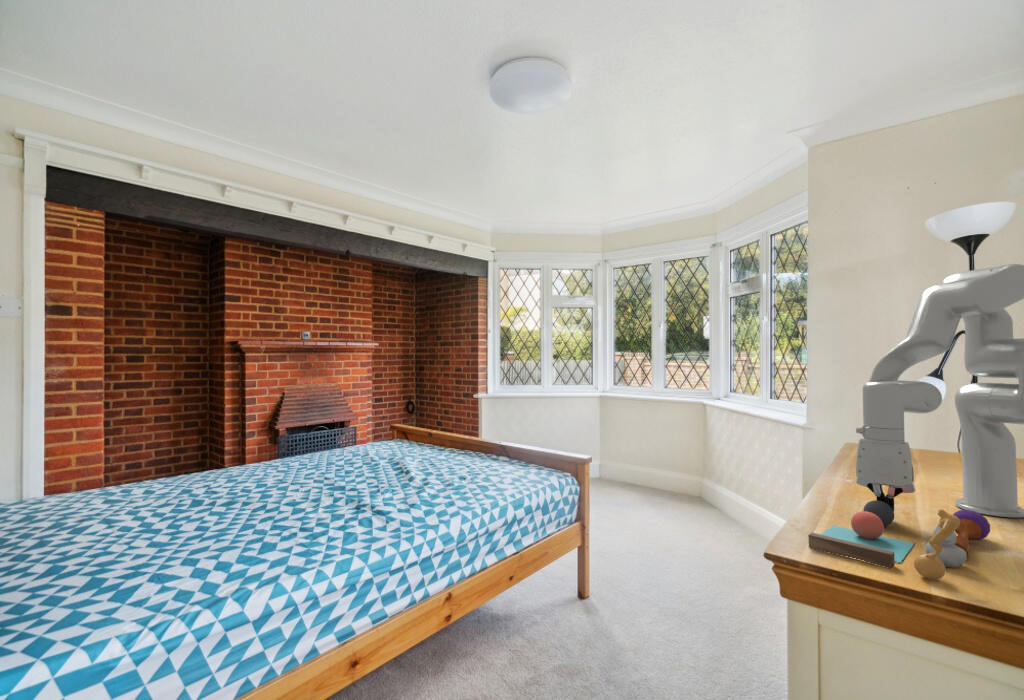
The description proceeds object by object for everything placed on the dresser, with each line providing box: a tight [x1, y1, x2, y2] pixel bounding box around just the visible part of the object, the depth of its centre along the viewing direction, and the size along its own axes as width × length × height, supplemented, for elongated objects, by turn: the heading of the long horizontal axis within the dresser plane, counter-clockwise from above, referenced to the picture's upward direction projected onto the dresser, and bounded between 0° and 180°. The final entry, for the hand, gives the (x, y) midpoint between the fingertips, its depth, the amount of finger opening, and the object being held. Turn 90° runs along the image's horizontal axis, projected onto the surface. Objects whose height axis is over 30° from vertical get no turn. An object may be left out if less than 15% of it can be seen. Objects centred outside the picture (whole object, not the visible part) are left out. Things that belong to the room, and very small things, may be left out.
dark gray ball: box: [863, 499, 895, 527], centre depth 105 cm, size 6×6×6 cm
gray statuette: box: [924, 524, 967, 568], centre depth 85 cm, size 5×7×8 cm
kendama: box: [952, 509, 991, 560], centre depth 93 cm, size 6×6×20 cm
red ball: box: [850, 511, 885, 539], centre depth 97 cm, size 6×6×6 cm
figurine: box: [913, 508, 960, 581], centre depth 78 cm, size 8×6×12 cm
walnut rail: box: [807, 532, 896, 569], centre depth 88 cm, size 2×13×2 cm, turn 41°
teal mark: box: [821, 525, 915, 564], centre depth 95 cm, size 14×14×1 cm
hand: (885, 513), depth 109 cm, fingers closed
